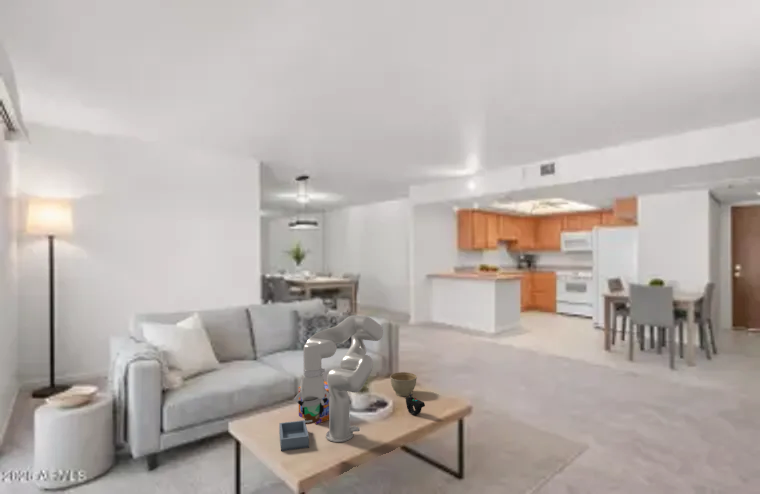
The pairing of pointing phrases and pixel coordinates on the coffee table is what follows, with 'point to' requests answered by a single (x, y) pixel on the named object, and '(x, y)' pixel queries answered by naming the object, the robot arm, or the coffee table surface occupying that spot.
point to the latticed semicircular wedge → (312, 411)
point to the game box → (326, 408)
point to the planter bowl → (403, 383)
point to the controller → (416, 403)
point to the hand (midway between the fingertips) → (312, 414)
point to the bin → (293, 435)
